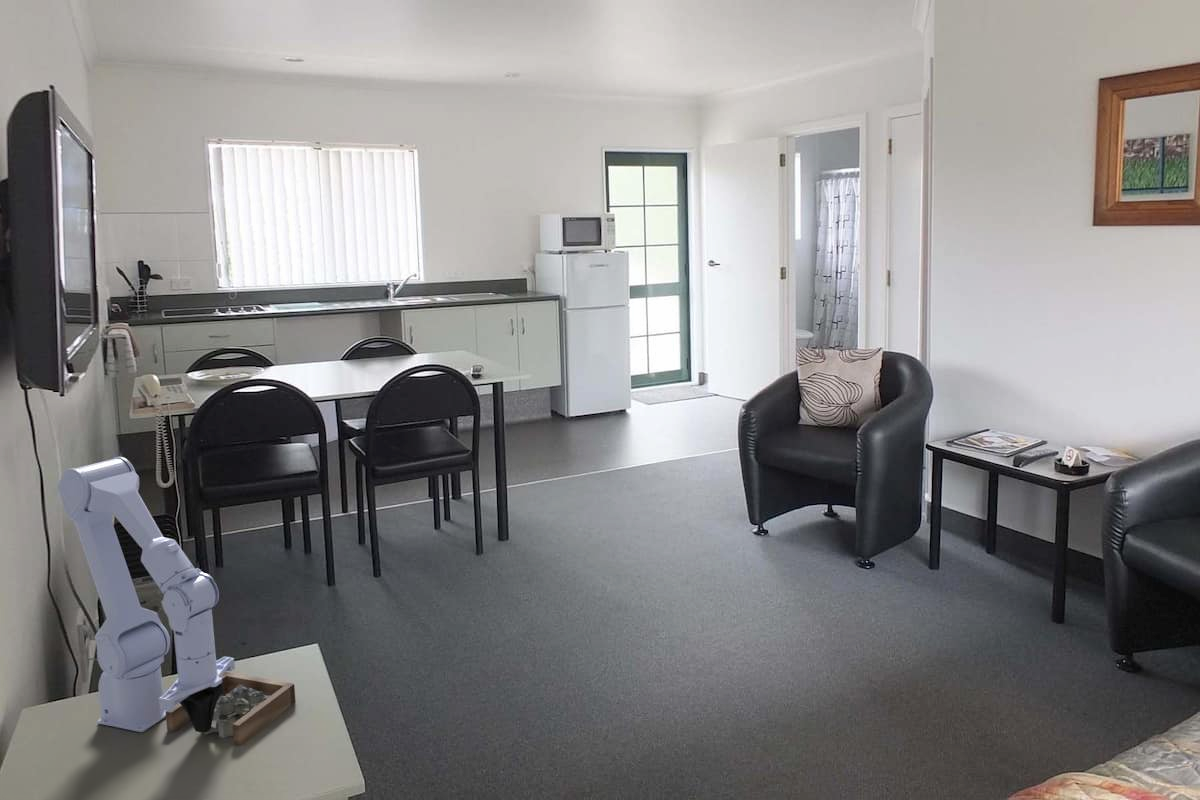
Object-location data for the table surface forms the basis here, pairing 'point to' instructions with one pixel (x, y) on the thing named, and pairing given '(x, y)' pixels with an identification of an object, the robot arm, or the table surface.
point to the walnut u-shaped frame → (253, 720)
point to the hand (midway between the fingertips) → (202, 730)
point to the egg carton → (234, 700)
